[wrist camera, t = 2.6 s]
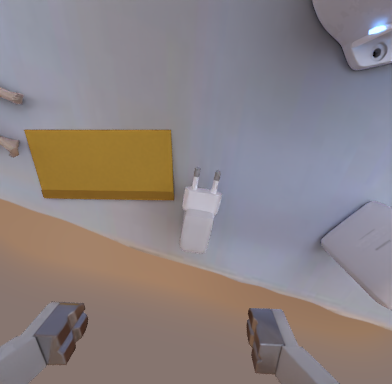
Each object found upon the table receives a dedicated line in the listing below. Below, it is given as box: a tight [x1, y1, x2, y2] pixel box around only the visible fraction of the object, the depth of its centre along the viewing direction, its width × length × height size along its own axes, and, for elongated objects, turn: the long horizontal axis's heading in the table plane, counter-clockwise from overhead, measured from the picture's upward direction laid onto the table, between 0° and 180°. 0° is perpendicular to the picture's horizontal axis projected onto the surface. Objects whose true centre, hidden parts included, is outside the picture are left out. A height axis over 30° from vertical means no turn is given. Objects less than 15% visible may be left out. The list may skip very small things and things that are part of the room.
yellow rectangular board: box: [24, 130, 174, 200], centre depth 27 cm, size 20×10×1 cm, turn 90°
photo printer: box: [321, 201, 392, 310], centre depth 23 cm, size 10×4×12 cm, turn 139°
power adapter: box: [179, 167, 222, 254], centre depth 25 cm, size 11×5×6 cm, turn 170°
